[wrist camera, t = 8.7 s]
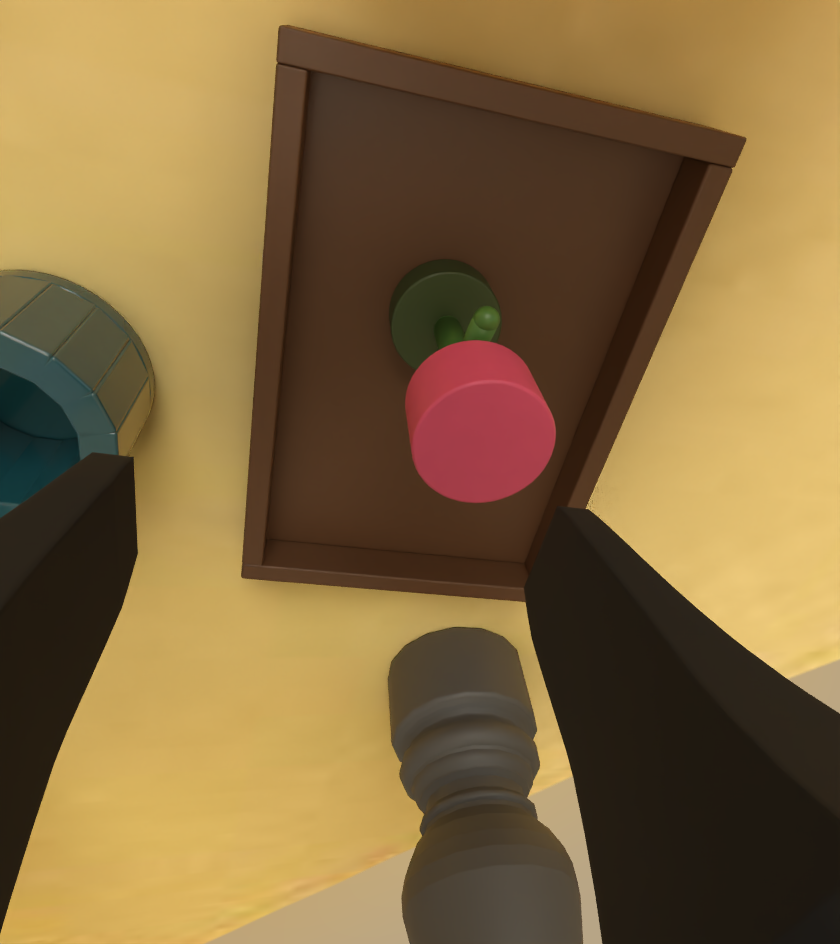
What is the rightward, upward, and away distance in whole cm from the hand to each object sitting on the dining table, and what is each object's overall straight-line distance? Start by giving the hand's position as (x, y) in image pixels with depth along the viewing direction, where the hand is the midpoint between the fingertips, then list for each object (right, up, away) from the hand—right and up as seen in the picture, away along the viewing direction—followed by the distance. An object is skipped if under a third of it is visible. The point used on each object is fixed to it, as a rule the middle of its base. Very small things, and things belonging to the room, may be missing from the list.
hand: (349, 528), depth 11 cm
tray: (+2, +4, +10) cm, 11 cm away
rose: (+2, +6, +8) cm, 10 cm away
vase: (-10, +4, +9) cm, 14 cm away
